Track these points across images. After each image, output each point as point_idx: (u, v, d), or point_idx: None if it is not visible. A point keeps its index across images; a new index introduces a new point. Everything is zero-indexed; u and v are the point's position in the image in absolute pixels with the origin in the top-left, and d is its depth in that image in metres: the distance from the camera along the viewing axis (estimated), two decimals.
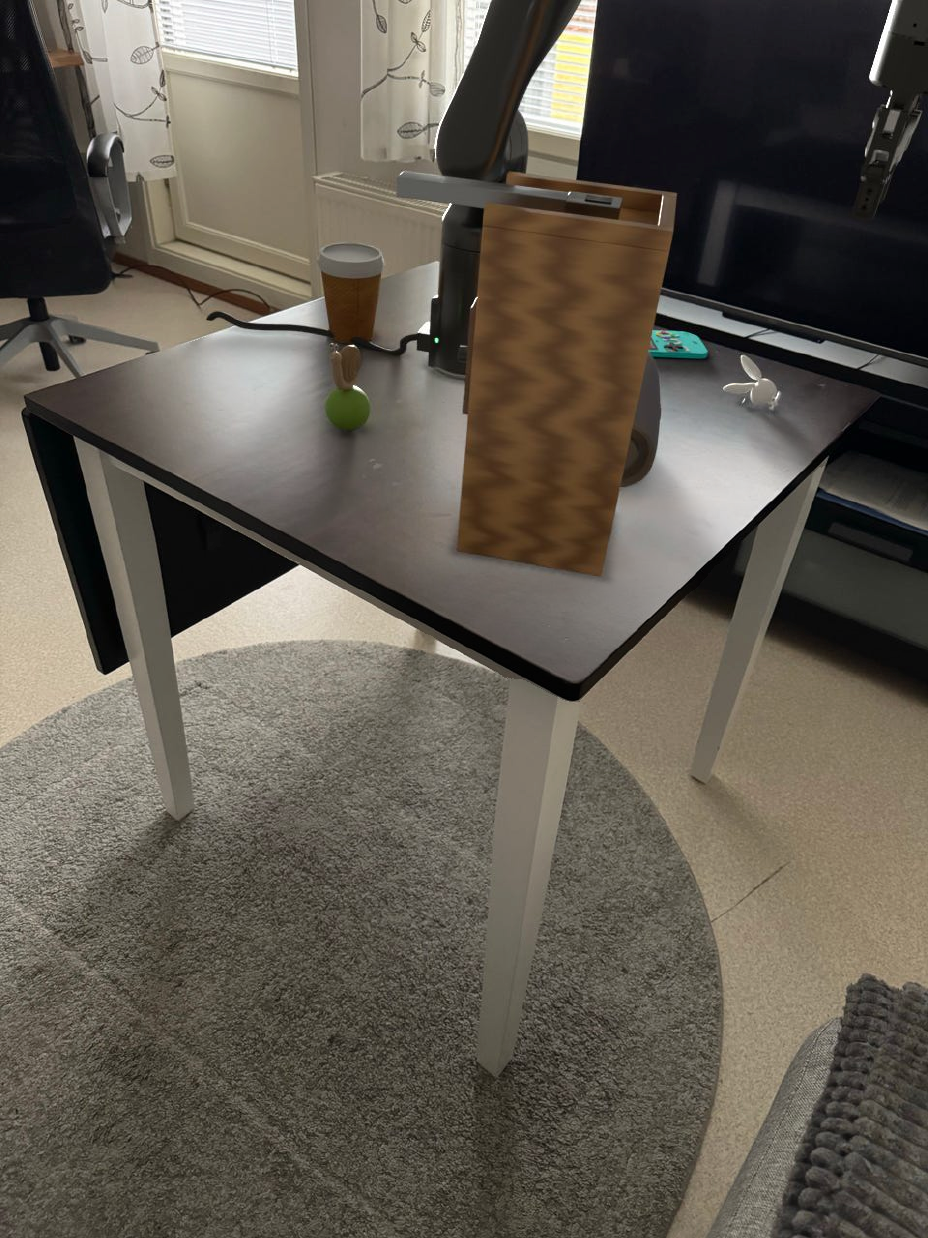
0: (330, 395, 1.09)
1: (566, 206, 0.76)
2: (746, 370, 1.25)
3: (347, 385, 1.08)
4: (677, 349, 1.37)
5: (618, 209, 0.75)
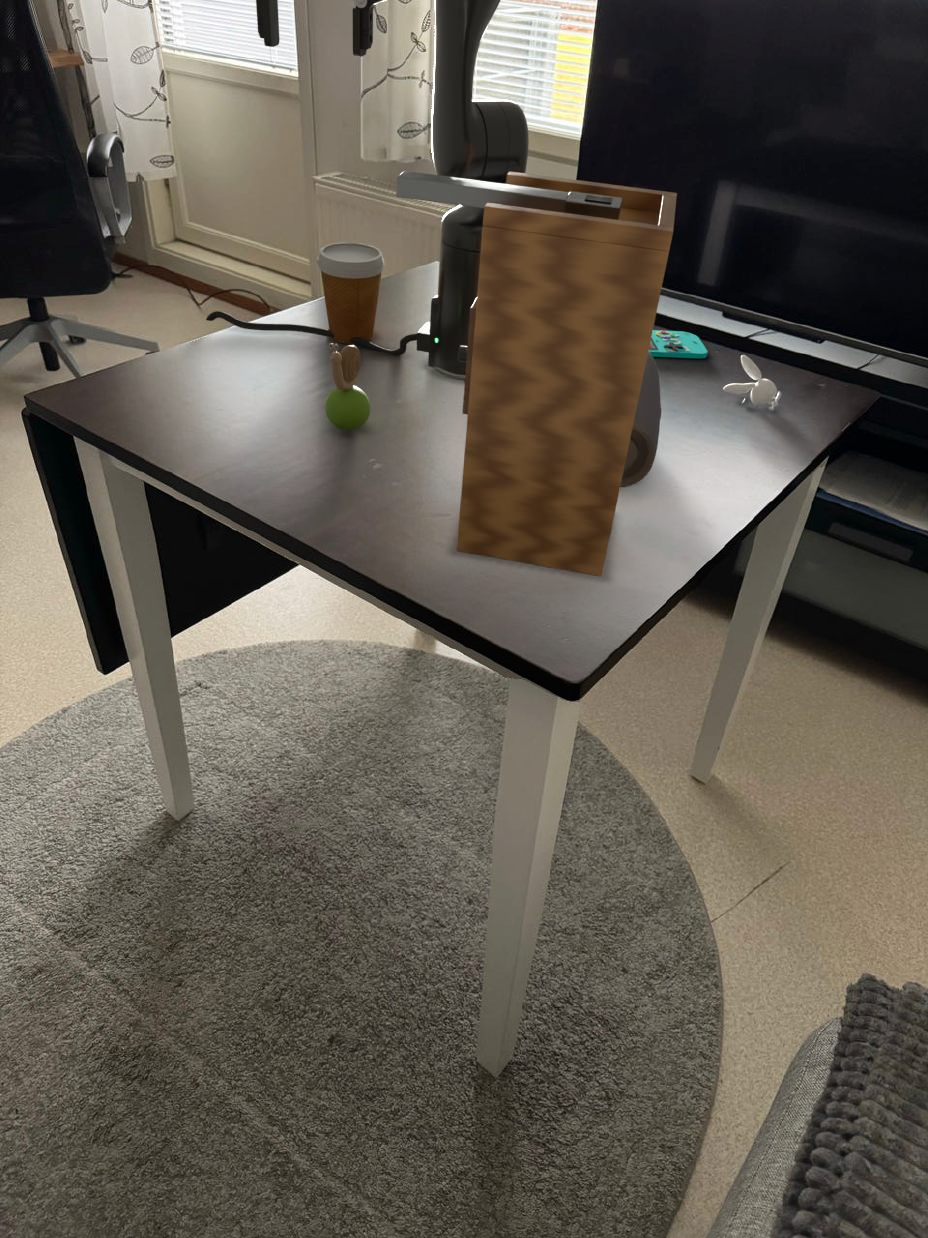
0: (330, 395, 1.09)
1: (566, 206, 0.76)
2: (746, 370, 1.25)
3: (347, 385, 1.08)
4: (677, 349, 1.37)
5: (618, 209, 0.75)
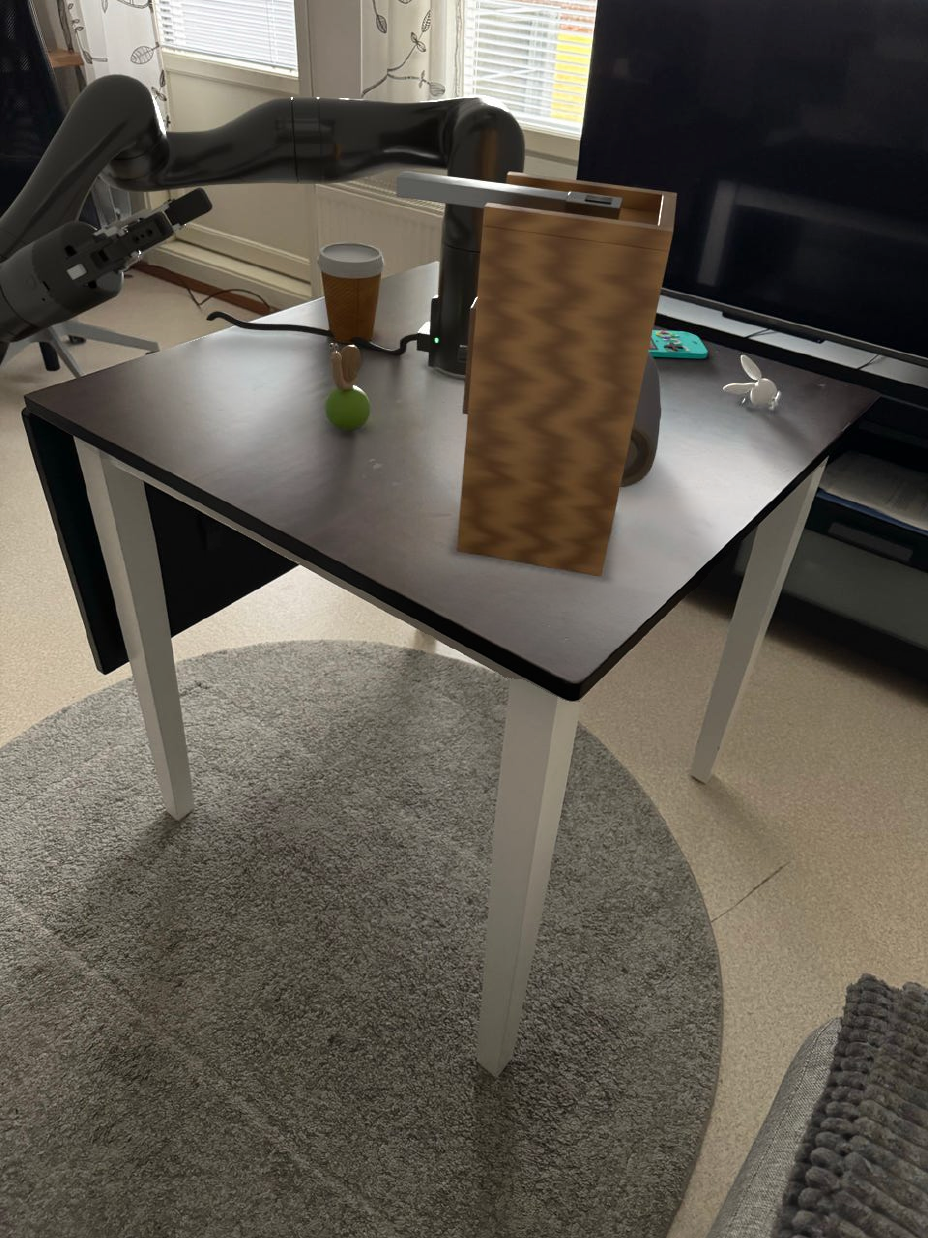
0: (330, 395, 1.09)
1: (566, 206, 0.76)
2: (746, 370, 1.25)
3: (347, 385, 1.08)
4: (677, 349, 1.37)
5: (618, 209, 0.75)
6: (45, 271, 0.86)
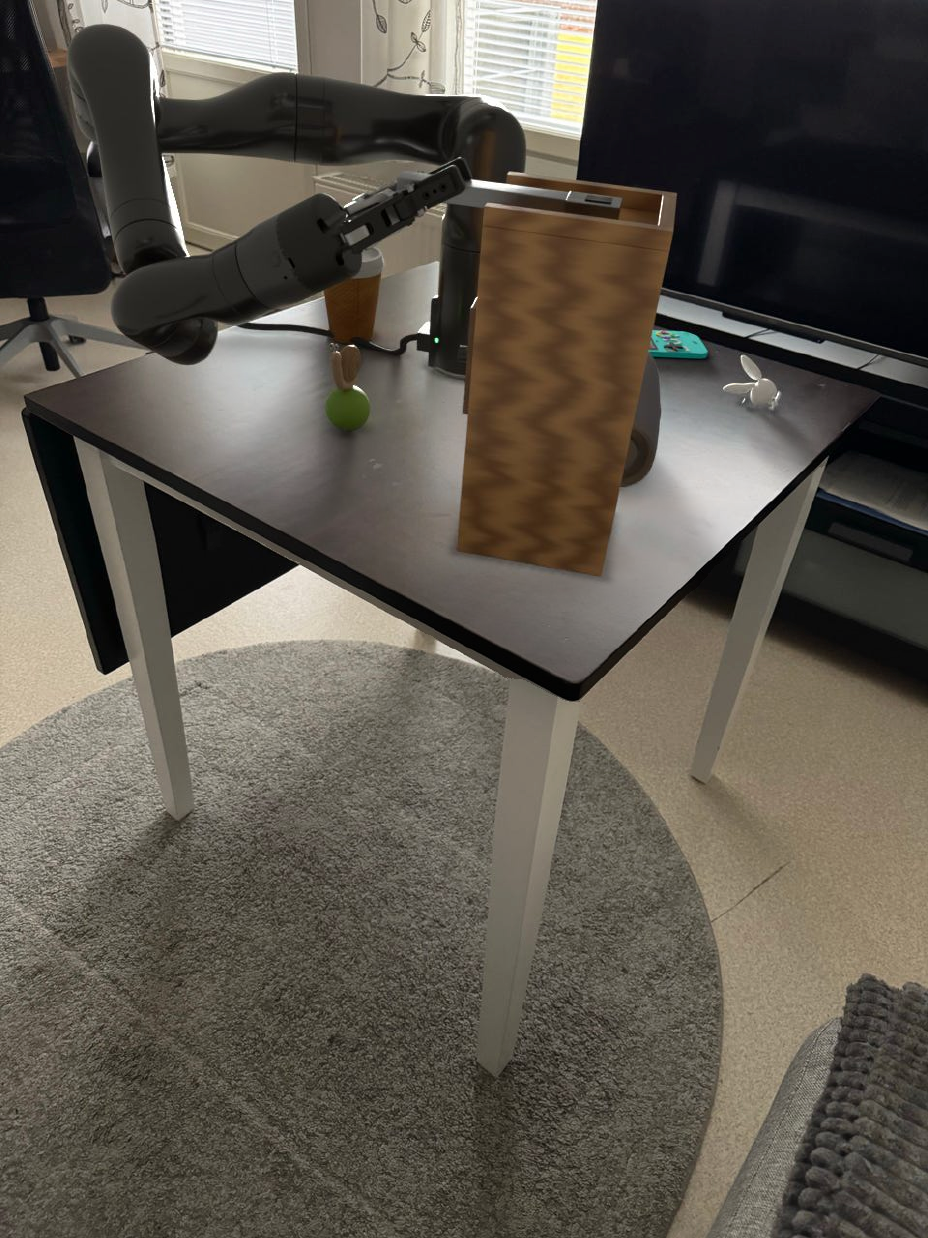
0: (330, 395, 1.09)
1: (566, 206, 0.76)
2: (746, 370, 1.25)
3: (347, 385, 1.08)
4: (677, 349, 1.37)
5: (618, 209, 0.75)
6: (292, 247, 0.80)
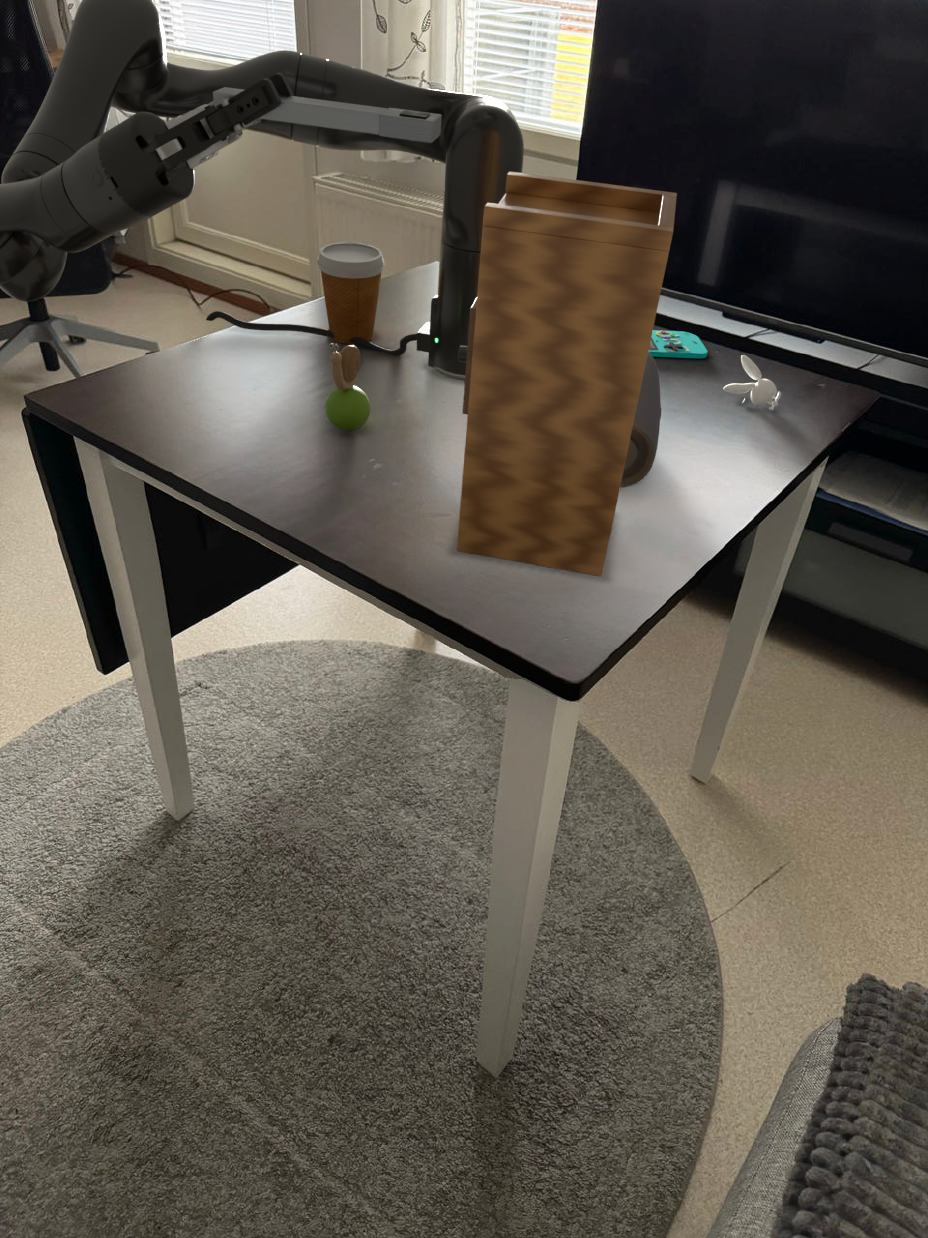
0: (330, 395, 1.09)
1: (380, 120, 0.74)
2: (746, 370, 1.25)
3: (347, 385, 1.08)
4: (677, 349, 1.37)
5: (431, 123, 0.74)
6: (113, 165, 0.79)
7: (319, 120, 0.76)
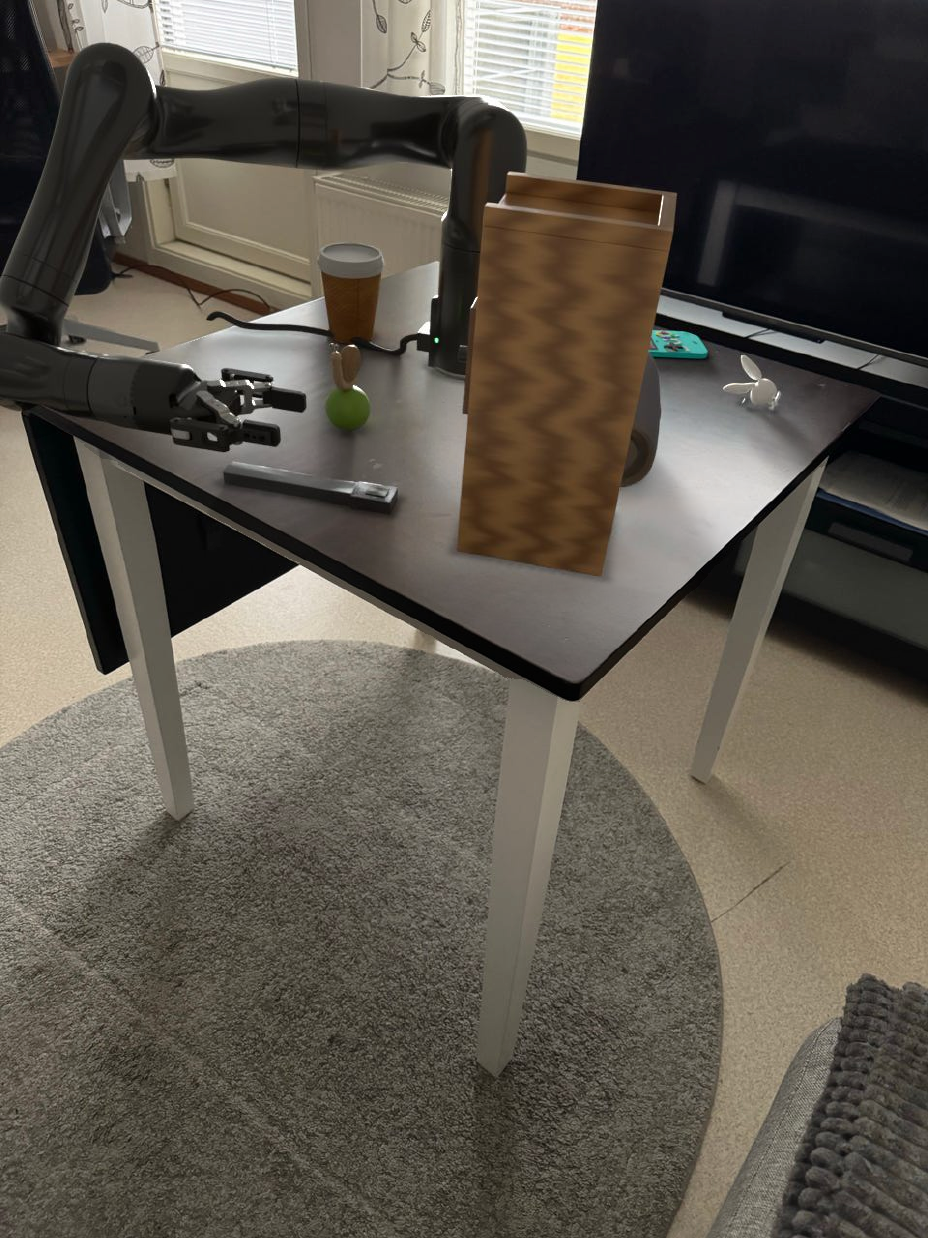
0: (330, 395, 1.09)
1: (350, 499, 0.98)
2: (746, 370, 1.25)
3: (347, 385, 1.08)
4: (677, 349, 1.37)
5: (389, 503, 0.97)
6: (140, 401, 0.94)
7: (304, 494, 0.99)
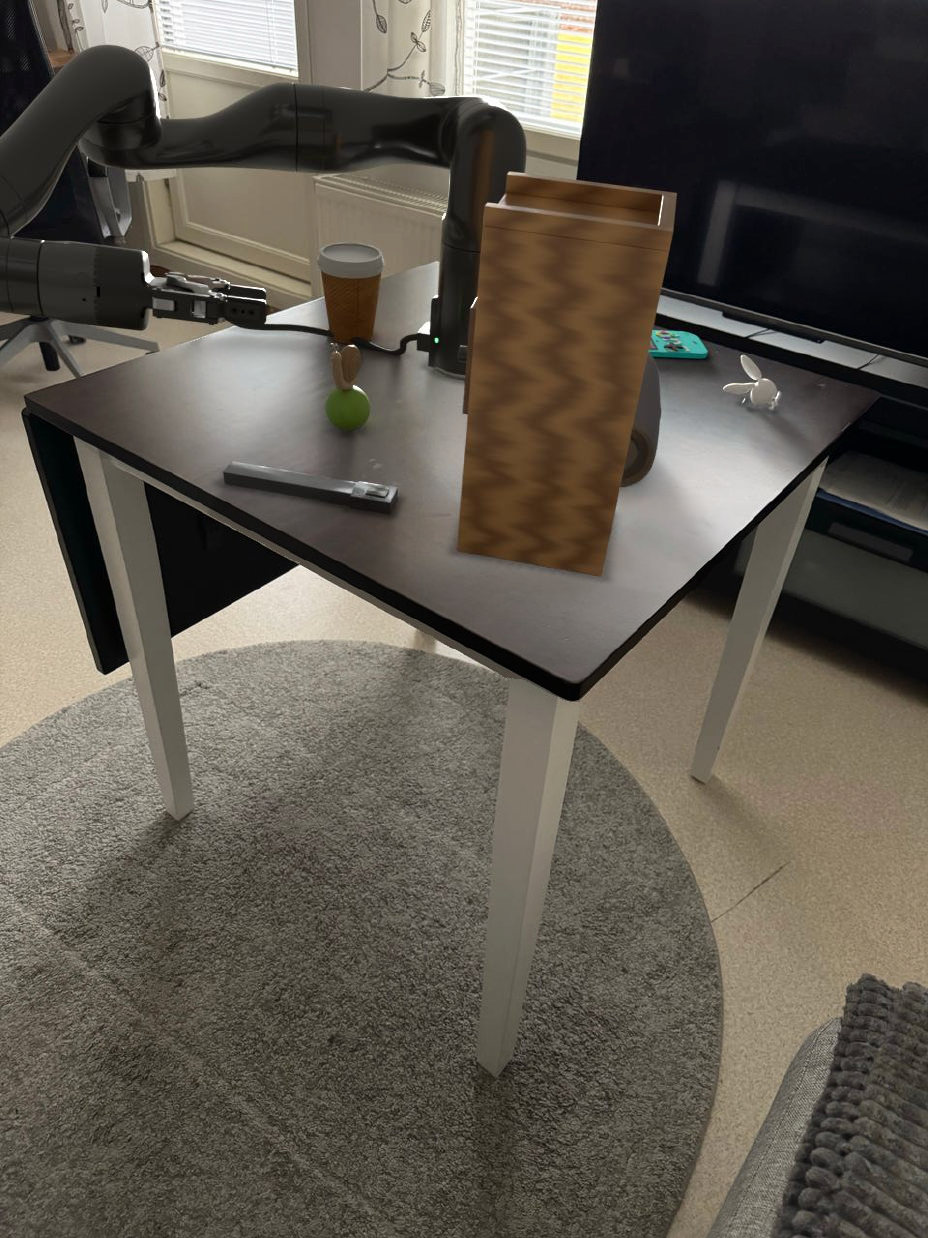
0: (330, 395, 1.09)
1: (350, 499, 0.98)
2: (746, 370, 1.25)
3: (347, 385, 1.08)
4: (677, 349, 1.37)
5: (389, 503, 0.97)
6: (105, 279, 0.86)
7: (304, 494, 0.99)
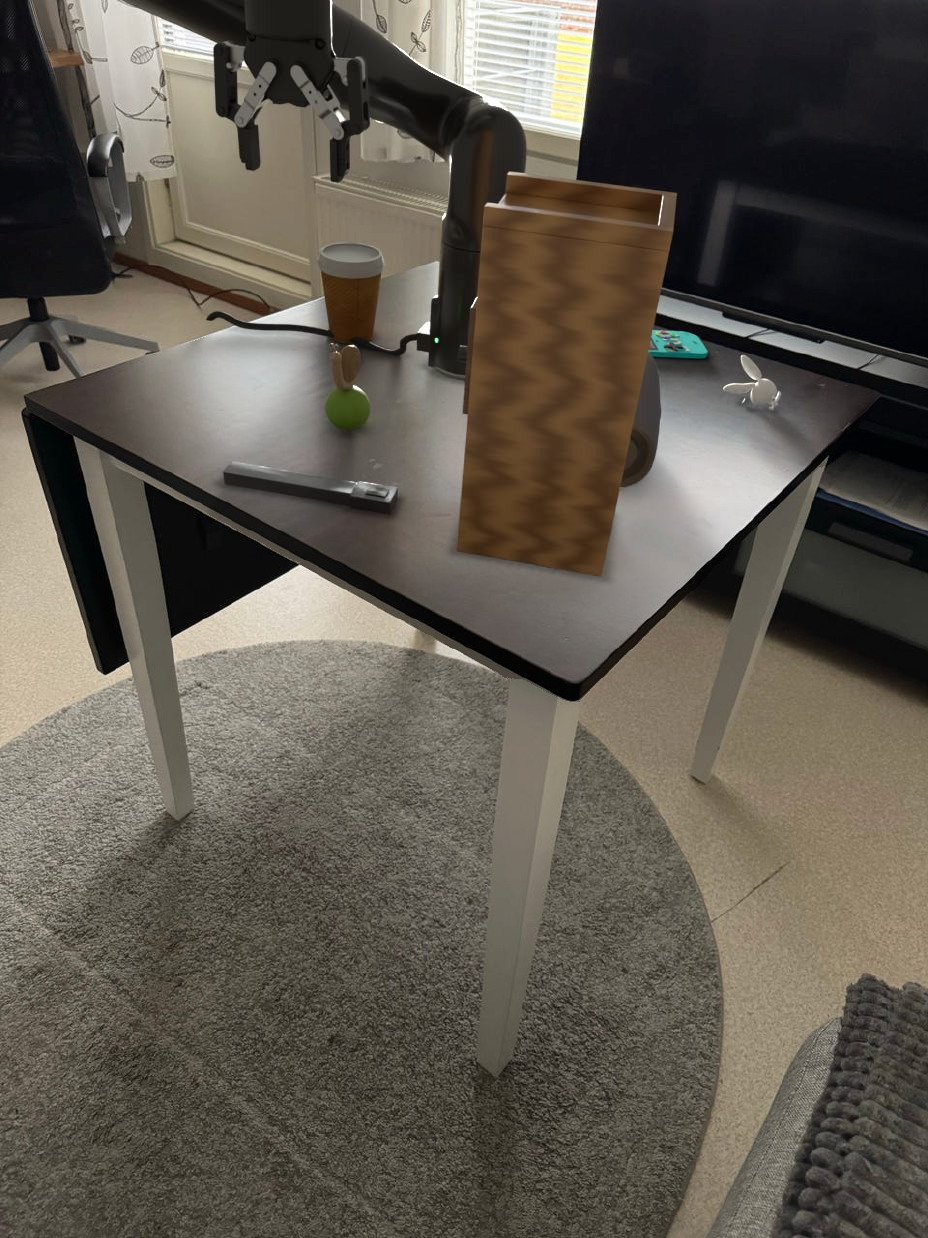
0: (330, 395, 1.09)
1: (350, 499, 0.98)
2: (746, 370, 1.25)
3: (347, 385, 1.08)
4: (677, 349, 1.37)
5: (389, 503, 0.97)
6: None
7: (304, 494, 0.99)
